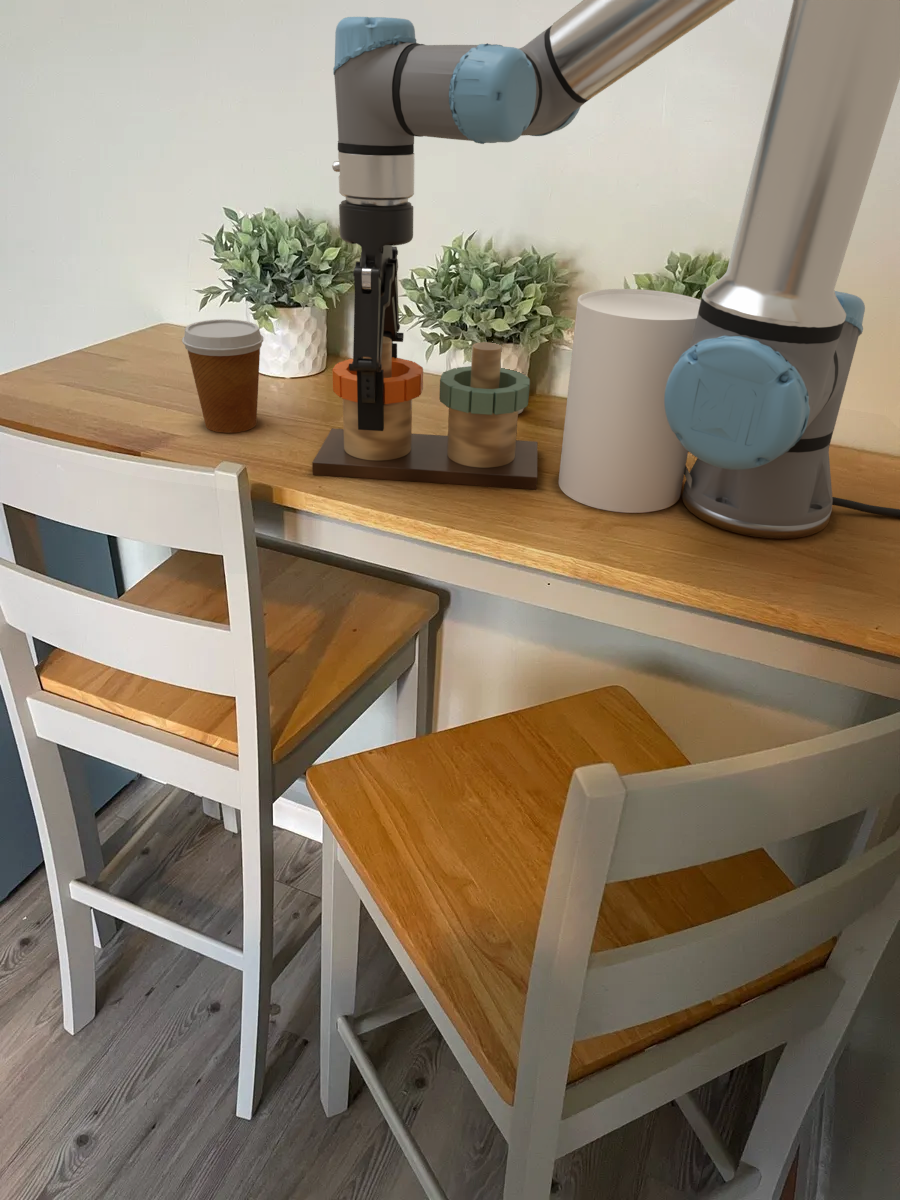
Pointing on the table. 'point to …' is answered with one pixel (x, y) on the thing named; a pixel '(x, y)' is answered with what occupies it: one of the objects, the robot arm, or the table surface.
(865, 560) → the table surface
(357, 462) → the ring board
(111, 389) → the table surface
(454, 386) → the sage ring
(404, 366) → the orange ring
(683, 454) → the canister
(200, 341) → the disposable coffee cup
